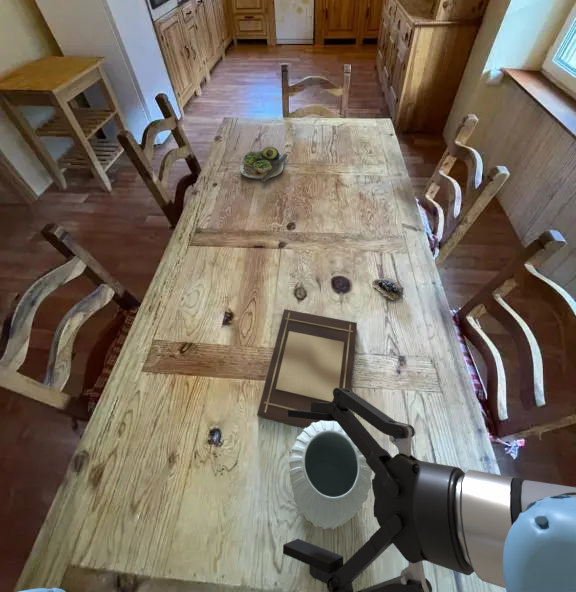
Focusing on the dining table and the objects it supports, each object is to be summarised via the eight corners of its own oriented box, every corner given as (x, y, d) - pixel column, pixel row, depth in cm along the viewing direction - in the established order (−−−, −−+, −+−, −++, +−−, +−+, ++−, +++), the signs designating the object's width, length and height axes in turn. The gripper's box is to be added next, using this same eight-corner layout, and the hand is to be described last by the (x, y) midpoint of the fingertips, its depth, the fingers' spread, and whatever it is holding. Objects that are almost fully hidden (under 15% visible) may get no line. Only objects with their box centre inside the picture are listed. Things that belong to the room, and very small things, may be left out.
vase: (301, 539, 57) (299, 532, 41) (287, 456, 65) (281, 425, 49) (366, 519, 58) (389, 506, 42) (345, 441, 66) (357, 405, 51)
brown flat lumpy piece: (398, 305, 86) (399, 301, 85) (367, 292, 89) (368, 288, 88) (405, 285, 91) (407, 281, 89) (376, 273, 94) (377, 269, 92)
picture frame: (346, 439, 66) (346, 437, 65) (257, 417, 70) (256, 414, 68) (356, 325, 83) (357, 322, 82) (284, 311, 86) (284, 308, 85)
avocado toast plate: (285, 185, 122) (285, 175, 119) (236, 185, 123) (234, 175, 120) (288, 153, 136) (287, 143, 132) (243, 154, 137) (242, 144, 133)
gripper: (515, 708, 28) (309, 601, 40) (457, 370, 39) (311, 369, 52) (491, 775, 23) (265, 628, 36) (433, 366, 34) (278, 365, 47)
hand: (292, 474), depth 44 cm, fingers open, 13 cm apart
